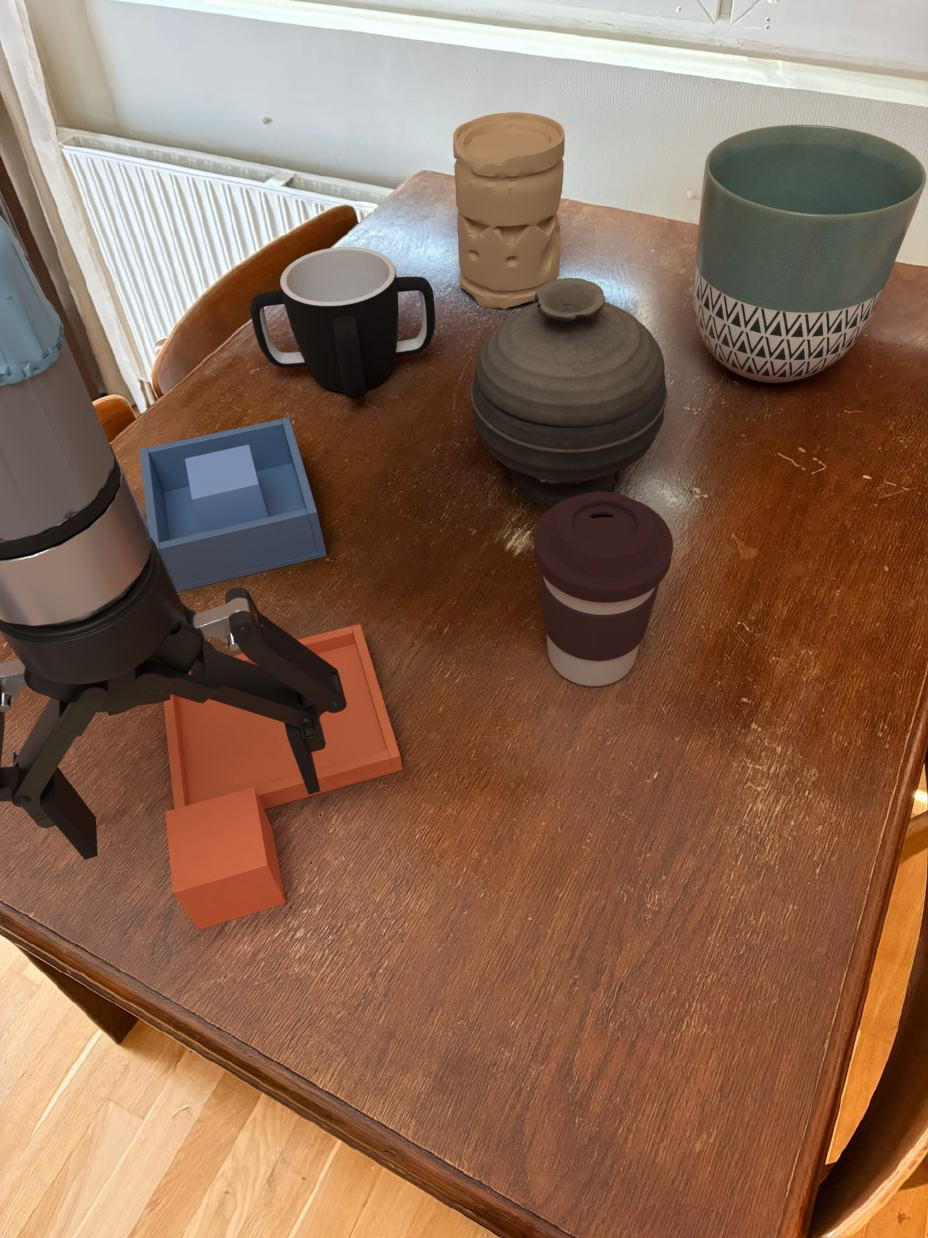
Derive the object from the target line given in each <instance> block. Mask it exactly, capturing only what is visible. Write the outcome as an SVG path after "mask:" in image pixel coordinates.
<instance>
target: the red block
mask: <svg viewBox="0 0 928 1238" xmlns="http://www.w3.org/2000/svg"><path fill="white" fill-rule="evenodd" d="M164 814H165V825H166V835H167V847H168V856H169V864H170V865H169V866H170V867H169V868H170V876H171V878H170V879H171V888H172V889H171V890H172V894H173V895H174V897H175V898H176V900H177V902H178V903H179V904H180V906H181V907H182V909H183V910H184V911H185V913H186V914H187V916H188V917H189V919H190V920H191V922H192V923H193V924H194V926H195V927H196V929H197V931H200V930H204V929H207V928H210V927H213V926H216V925H221V924H223V923H226V922H230V921H233V920H236V919H239V918H243V917H246V916H250V915H252V914H255V913H256V914H257V913H259V912H263V911H266V910H269V909H272V908H276V907H279V906H282V905H285V904H286V896H285V892H284V886H283V880H282V875H281V870H280V863H279V858H278V853H277V846H276V842H275V836H274V831H273V827H272V825H271V822H270V820H269V818H268V815H267V813H266V810H265V809H264V808H263V806H262V804H261V801H260V799H259V797H258V794H257V792H256V790H255V787H251V788H247V789H244V790H240V791H237V792H233V793H230V794H226V795H222V796H219V797H215V798H212V799H208V800H205V801H201V802H197V803H194V804H190V805H187V806H183V807H180V808H176V809H174V808H172V809H169V810H165V812H164Z"/></svg>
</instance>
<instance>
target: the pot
mask: <svg viewBox="0 0 928 1238" xmlns="http://www.w3.org/2000/svg"><path fill="white" fill-rule="evenodd" d="M665 368H666V365H665V359H664V354H663V352H662V349H661V347H660V345H659V343H658V342H657V340H656V338H655V337H654V335H653V334H652V333H651V332H650V330H649V329H648V328H647V327H646V326H645V325H644V323H642V322H641V321H640V320H639V319H637V318H636V317H635V316H634V315H632V314H631V313H629V312H627V311H626V310H624V309H622V308H620V307H618V306H617V305H615V304H612V303H609V302H607V301H606V296H605V295H604V291H603V289H602V288H601V286H600V285H598V283H596V282H593V281H590V280H586V279H585V278H578V277H562V278H557V279H556V280H553V281H550V282H548V283H545V284H544V285H542V286H541V287H540V288H539V289H538V290H537V292H536V293H535V295H534V301H533V303H532V304H530V305H527V306H525V307H523V308H522V309H520V310H518V311H516V312H515V313H514V314H512V315H510V316H509V317H508V318H506V319H505V320H503V322H501V323H500V324H499V325H498V326H497V327H496V328H495V329H494V331H492V332H491V334H490V335H489V336H488V337H487V339H485V341H484V342H483V345H482V346H481V348H480V350H479V352H478V355H477V358H476V363H475V368H474V369H475V370H474V373H473V377H472V380H471V382H470V385H469V394H470V395H469V397H470V403H471V409H472V410H471V414H472V420H473V423H474V426H475V428H476V432H477V435H478V438H479V441H480V444H482V446H483V447H484V449H485V450H486V451H487V452H488V453H489V454H490V455H491V456H492V457H493V458H495V459H496V460H497V461H498V462H500V463H501V464H502V465H504V466H505V467H506V468H507V469H510V470H511V471H510V478H511V479H512V483H513V485H514V488H516V490H517V491H518V492H519V493H520V494H521V496H522V497H524V498H526V499H527V500H528V501H531V502H532V503H534V504H537V505H539V506H542V507H545V508H548V509H551V508H552V507H554V506H555V505H557V504H558V503H560V502H562V501H564V500H567V499H569V498H572V497H576V496H580V495H583V494H586V493H592V492H609V491H610V490H611V488H612V486H613V485H614V480H615V474H616V473H619V472H621V471H623V470H625V469H627V468H628V467H630V466H632V465H633V464H635V463H637V462H638V461H639V460H640V459H641V458H642V457H644V456H645V455H646V453H647V452H648V451H649V450H650V448H651V446H653V445H652V444H653V443H654V442H655V439H656V436H657V435H658V433H660V430H661V428H662V426H663V423H664V418H665V408H666V406H667V401H668V388H667V384H666V383H667V382H666V374H665V370H666V369H665Z"/></svg>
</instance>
